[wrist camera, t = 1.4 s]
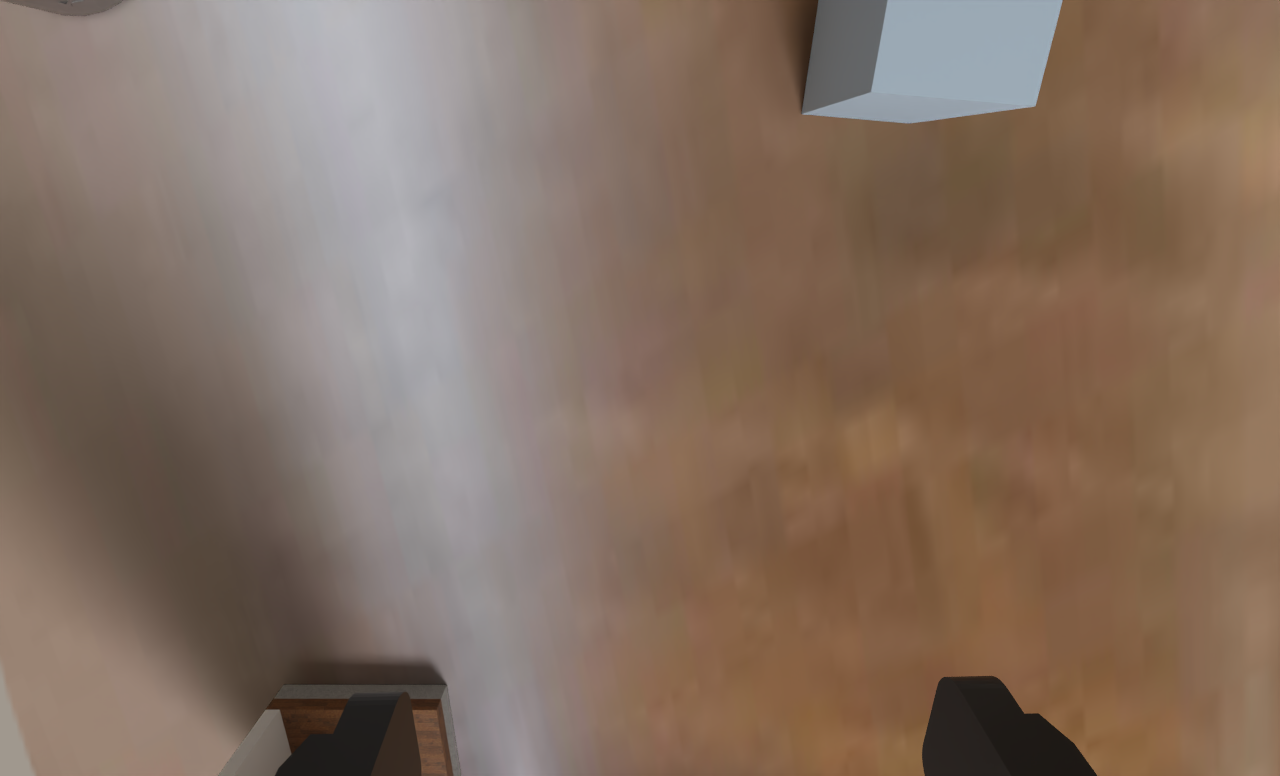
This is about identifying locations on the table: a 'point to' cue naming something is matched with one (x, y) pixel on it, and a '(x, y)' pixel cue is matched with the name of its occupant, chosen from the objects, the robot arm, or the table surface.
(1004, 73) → the column block
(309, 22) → the table surface
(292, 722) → the display case
